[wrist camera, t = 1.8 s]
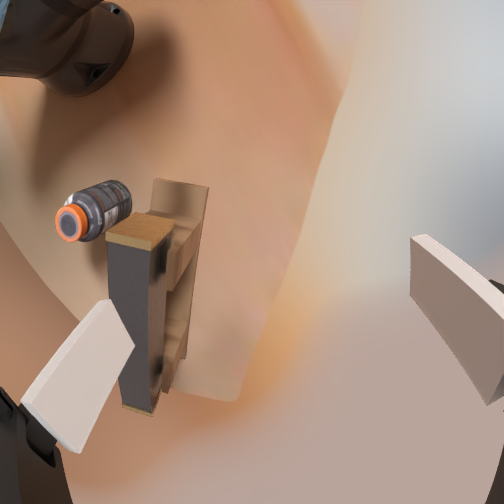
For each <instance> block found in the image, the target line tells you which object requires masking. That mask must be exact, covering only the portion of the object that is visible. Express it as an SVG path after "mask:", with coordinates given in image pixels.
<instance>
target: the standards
mask: <svg viewBox="0 0 504 504" xmlns="http://www.w3.org/2000/svg"><path fill="white" fill-rule="evenodd" d="M208 190H209V187H204V186H199V185H193V184H188V183H182V182H176V181H170V180H164V179H158V178H156V179H154V183H153V191H152V199H151V209H150V211H149V212H147V213H146V214H148V215H153V216H158V217H163V218H168V219H173V220H174V228H173V229H172V237H171V247H170V249H169V250H168V253H167V264H166V277H165V290H167V293H166V309H165V330H164V368H163V371H162V392H165V393H168V391H169V389H170V386H171V383H172V380H173V377H174V374H175V371H176V368H177V365H178V363H179V360H180V358H181V359H185V357H186V352H187V341H188V332H189V322H190V314H191V305H192V297H193V289H194V281H195V274H196V266H197V259H198V252H199V245H200V239H201V232H202V226H203V220H204V213H205V207H206V202H207V196H208Z"/></svg>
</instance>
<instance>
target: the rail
mask: <svg viewBox="0 0 504 504" xmlns="http://www.w3.org/2000/svg"><path fill="white" fill-rule="evenodd" d="M173 228H174V220H173V219H168V218H163V217H158V216H153V215H148V214H142V213H137V212H135V213H134V214H132V215H131V216H129V217H127V218H126V219H124V220H123V221H121V222H119V223H118V224H116V225H115V226H113V227H112V228H110V229H109V230H107V231H106V238H105V241H108V289H109V299H111V301H112V303H113V305H114V307H115V309H116V311H117V313H118V315H119V317H120V319H121V321H122V323H123V324H124V326H125V328H126V330H127V332H128V334H129V336H130V337H131V339H132V341H133V343H134V345H135V347H134V349H133V350H132V352H131V354H130V356H129V358H128V360H127V361H126V363H125V365H124V367H123V369H122V371H121V373H120V374H119V376H118V380H119V386H120V391H121V397H122V407H123V408H126V409H129V410H131V411H135V412H138V413H141V414H144V415H147V416H150V417H152V416H153V414H154V411H155V408H156V405H157V402H158V400H159V397H160V394H161V391H162V371H163V368H164V330H165V309H166V293H167V290H165V277H166V264H167V253H168V250H169V249H170V247H171V237H172V229H173Z"/></svg>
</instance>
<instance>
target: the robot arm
mask: <svg viewBox="0 0 504 504" xmlns="http://www.w3.org/2000/svg"><path fill="white" fill-rule="evenodd" d="M133 38H134V25H133V21H132V18H131V17H130V15H129V14H128V13H127V12H126V11H125V10H124V9H123V8H121V7H120V6H119V5H117V4H115V3H112V2H108V1H104V0H0V76H11V77H24V78H34V79H38V80H39V81H40V82H42V83H43V84H44V85H46V86H47V87H48V88H50V89H51V90H52V91H54V92H55V93H58V94H60V95H65V96H73V97H78V96H84V95H87V94H90V93H92V92H94V91H96V90H97V89H99V88H100V87H102V86H103V85H105V84H106V83H107V82H108V81H109V80H110V79H111V78H112V77H113V76H114V75H115V74H116V73H117V72H118V70H119V69H120V68H121V66H122V65H123V63H124V62H125V60H126V58H127V56H128V54H129V52H130V49H131V46H132V43H133ZM410 247H411V277H410V278H411V279H410V296H411V297H412V299H413V300H414V301H415V302H416V304H417V305H418V306H419V307H420V309H421V310H422V311H423V313H424V314H425V315H426V316H427V318H428V319H429V320H430V322H431V323H432V324H433V325H434V327H435V328H436V330H437V331H438V332H439V334H440V335H441V337H442V338H443V339H444V341H445V342H446V344H447V345H448V346H449V348H450V349H451V351H452V352H453V354H454V355H455V356H456V358H457V359H458V361H459V362H460V364H461V365H462V367H463V368H464V370H465V371H466V373H467V374H468V376H469V378H470V379H471V381H472V382H473V384H474V385H475V387H476V388H477V390H478V392H479V394H480V395H481V397H482V399H483V400H484V402H485V404H486V405H487V406H488V405H489V404H491V403H492V402H494V401H496V400H498V399H499V398H501V397H503V396H504V285H502V284H500V283H498V282H495V281H493V280H486V279H485V278H484V277H483V276H481V275H480V274H479V273H478V272H477V271H475V270H474V269H473V268H471V267H470V266H469V265H468V264H466V263H465V262H464V261H462V260H461V259H460V258H459V257H457V256H456V255H454V254H453V253H452V252H450V251H449V250H448V249H446V248H445V247H444V246H442V245H441V244H440V243H438V242H436V241H435V240H434V239H432V238H431V237H430V236H428V235H427V234H422V235H418V236H414V237H410ZM134 347H135V345H134V343H133V341H132V339H131V337H130V336H129V334H128V332H127V330H126V328H125V326H124V324H123V323H122V321H121V319H120V317H119V315H118V313H117V311H116V309H115V307H114V305H113V303H112V301H111V299H108V300H102V301H98V302H97V304H96V305H95V306H94V307H93V308H92V309H91V310H90V312H89V313H88V314H87V315H86V316H85V317H84V319H83V320H82V321H81V322H80V323H79V324H78V326H77V327H76V328H75V329H74V330H73V332H72V333H71V334H70V335H69V337H68V338H67V339H66V340H65V341H64V343H63V344H62V345H61V346H60V348H59V349H58V350H57V352H56V353H55V354H54V355H53V357H52V358H51V359H50V360H49V362H48V363H47V364H46V366H45V367H44V368H43V370H42V371H41V372H40V374H39V375H38V376H37V378H36V379H35V380H34V382H33V383H32V385H31V386H30V387H29V389H28V390H27V391H26V393H25V395H24V396H23V397H22V399H21V400H20V402H21V404H20V405H19V406H17V405H16V404H15V403H14V402H13V400H12V399H11V398H10V397H9V395H8V394H7V393H6V392H5V390H4V389H3V388H2V387H0V504H73V502H72V499H71V496H70V492H69V488H68V484H67V481H66V477H65V472H64V468H63V464H62V458H61V453H60V450H59V449H58V448H57V447H56V446H55V444H56V442H57V441H58V442H59V443H60V444H61V445H63V446H64V447H65V448H66V449H67V450H69V451H72V452H76V453H79V454H81V451H82V449H83V447H84V445H85V443H86V441H87V438H88V436H89V434H90V432H91V430H92V428H93V426H94V424H95V422H96V420H97V417H98V416H99V413H100V412H101V410H102V408H103V405H104V404H105V401H106V400H107V397H108V395H109V394H110V392H111V390H112V388H113V386H114V384H115V382H116V380H117V378H118V376H119V374H120V373H121V371H122V369H123V367H124V365H125V363H126V361H127V360H128V358H129V356H130V354H131V352H132V350H133V349H134ZM485 504H504V447H503V450H502V455H501V458H500V462H499V465H498V468H497V472H496V475H495V478H494V481H493V484H492V487H491V490H490V492H489V495H488V498H487V501H486V503H485Z"/></svg>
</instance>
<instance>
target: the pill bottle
mask: <svg viewBox="0 0 504 504" xmlns="http://www.w3.org/2000/svg"><path fill="white" fill-rule="evenodd" d="M131 207H132V198H131V194H130V192H129V190H128V188H127V187H126V186H125V185H124V184H123V183H122V182H119V181H116V180H109V181H106V182H103V183H100V184H97V185H94V186H92V187H89V188H86V189H84V190H81V191H78V192H76V193H74V194H72V195H71V196H70V197H69V198H68V199H67V200H66V202H65V204H64V207H62V208H60V209H59V210H58V212H57V214H56V217H55V226H56V229H57V232H58V234H59V235H60V236H61V238H62V239H64V240H65V241H67V242H75V241H77V240H78V241H81V242H89V241H92V240H94V239H95V238H97V237H98V236H100V235H101V234H103V233H104V232H106V231H107V230H108V229H110V228H111V227H113V226H114V225H116V224H117V223H119V222H121V221H122V220H124V219H125V218H126V217H127V216H128V214H129V213H130V210H131Z"/></svg>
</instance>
